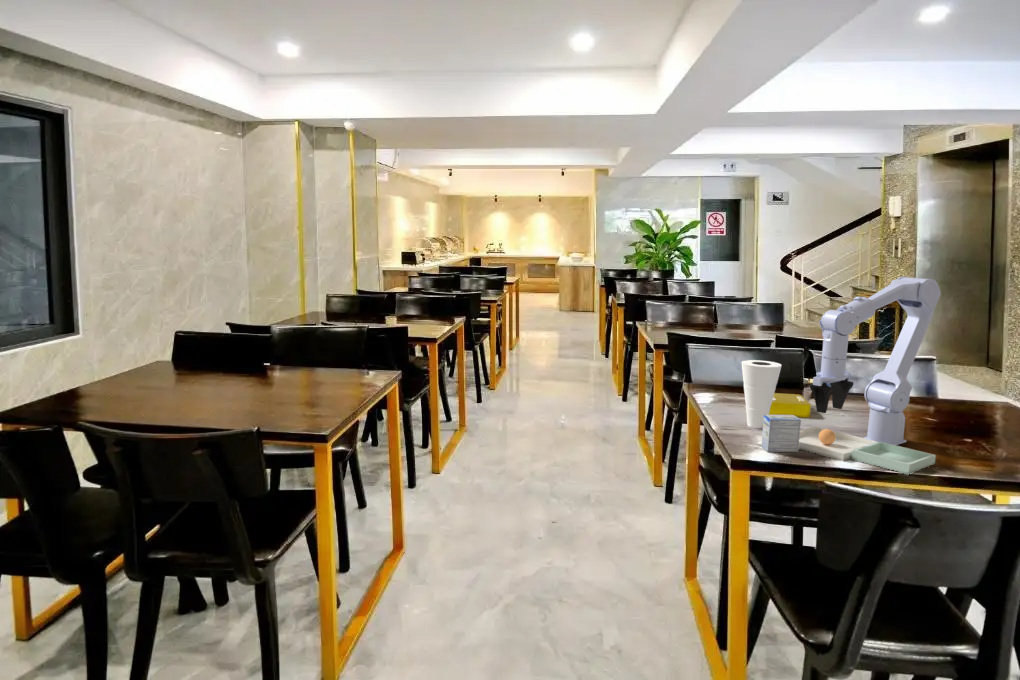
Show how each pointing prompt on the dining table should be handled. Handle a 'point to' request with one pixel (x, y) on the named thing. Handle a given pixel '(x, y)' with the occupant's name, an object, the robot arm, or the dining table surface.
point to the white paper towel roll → (759, 389)
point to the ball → (827, 436)
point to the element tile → (790, 405)
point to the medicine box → (781, 433)
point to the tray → (835, 450)
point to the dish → (893, 457)
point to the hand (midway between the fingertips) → (829, 410)
